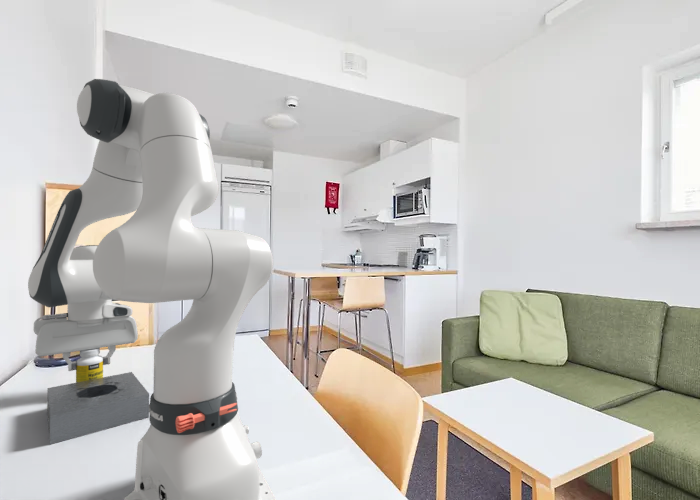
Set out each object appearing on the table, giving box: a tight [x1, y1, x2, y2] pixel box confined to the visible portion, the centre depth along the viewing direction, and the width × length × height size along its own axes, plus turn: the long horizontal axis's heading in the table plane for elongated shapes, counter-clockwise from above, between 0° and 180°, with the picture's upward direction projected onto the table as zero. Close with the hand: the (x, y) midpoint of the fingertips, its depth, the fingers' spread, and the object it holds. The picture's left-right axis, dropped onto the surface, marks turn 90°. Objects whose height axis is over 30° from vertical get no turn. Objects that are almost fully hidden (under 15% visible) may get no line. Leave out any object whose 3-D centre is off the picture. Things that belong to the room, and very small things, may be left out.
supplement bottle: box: [75, 348, 104, 383], centre depth 87 cm, size 5×5×10 cm
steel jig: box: [46, 371, 150, 445], centre depth 76 cm, size 18×16×5 cm
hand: (89, 367), depth 87 cm, fingers closed on supplement bottle, 5 cm apart
